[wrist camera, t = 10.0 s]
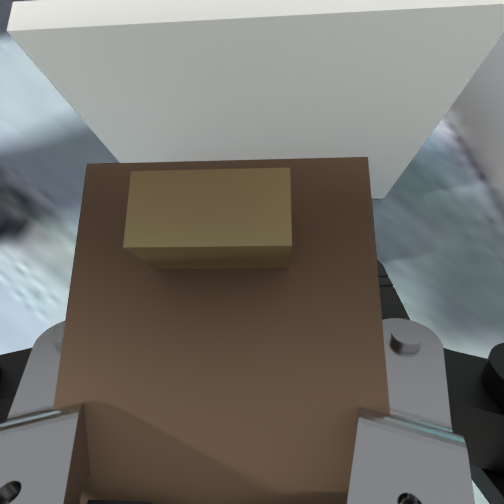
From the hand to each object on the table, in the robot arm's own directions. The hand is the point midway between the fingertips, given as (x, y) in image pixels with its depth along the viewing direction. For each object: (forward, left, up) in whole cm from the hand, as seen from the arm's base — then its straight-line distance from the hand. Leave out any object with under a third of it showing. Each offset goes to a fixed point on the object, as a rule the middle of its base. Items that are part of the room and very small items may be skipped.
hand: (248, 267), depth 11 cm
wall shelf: (+8, +6, -18) cm, 21 cm away
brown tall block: (-2, -1, -5) cm, 5 cm away
